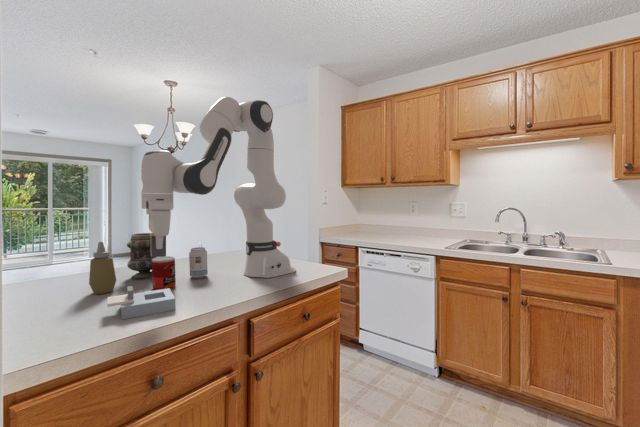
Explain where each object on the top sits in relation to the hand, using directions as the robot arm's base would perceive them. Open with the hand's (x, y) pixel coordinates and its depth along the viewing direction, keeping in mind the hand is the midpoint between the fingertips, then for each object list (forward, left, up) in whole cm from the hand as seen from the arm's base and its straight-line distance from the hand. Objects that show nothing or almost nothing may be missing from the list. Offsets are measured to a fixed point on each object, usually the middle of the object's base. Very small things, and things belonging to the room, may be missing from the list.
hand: (158, 247), depth 101 cm
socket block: (+3, 0, -19) cm, 19 cm away
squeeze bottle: (+15, -26, -19) cm, 35 cm away
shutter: (+10, 0, -15) cm, 18 cm away
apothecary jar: (+1, -41, -19) cm, 45 cm away
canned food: (-4, -20, -19) cm, 27 cm away
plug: (0, 0, -3) cm, 3 cm away
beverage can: (-18, -28, -19) cm, 38 cm away
